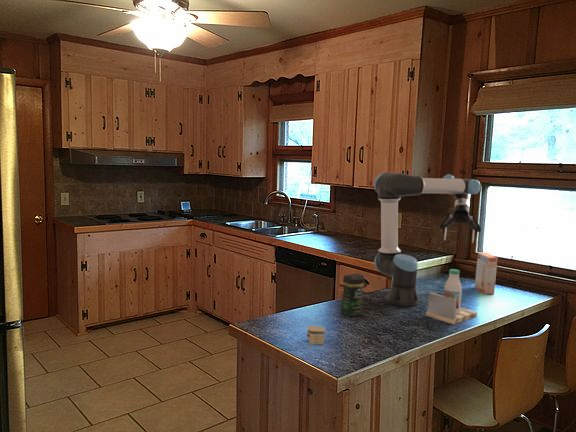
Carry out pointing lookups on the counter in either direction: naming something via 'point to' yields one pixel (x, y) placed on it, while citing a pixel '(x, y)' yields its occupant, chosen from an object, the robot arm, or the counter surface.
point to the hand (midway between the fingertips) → (458, 240)
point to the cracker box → (486, 273)
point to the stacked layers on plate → (316, 334)
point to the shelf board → (460, 317)
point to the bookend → (442, 305)
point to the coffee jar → (352, 295)
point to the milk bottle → (454, 288)
